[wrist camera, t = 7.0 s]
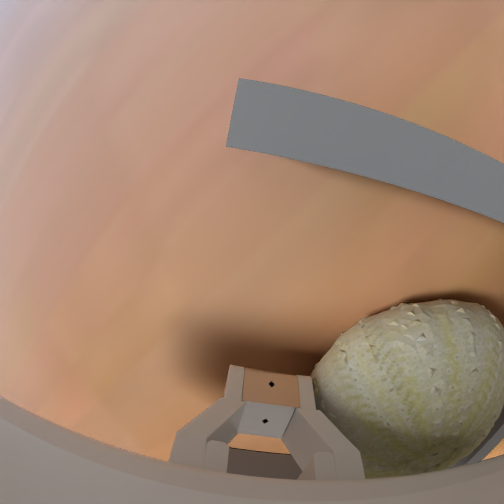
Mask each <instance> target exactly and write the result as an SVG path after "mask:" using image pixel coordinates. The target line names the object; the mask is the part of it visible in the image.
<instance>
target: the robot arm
mask: <svg viewBox="0 0 504 504" xmlns="http://www.w3.org/2000/svg"><path fill="white" fill-rule="evenodd" d="M237 433H242V434H250V435H259V436H266V437H274V438H282V441H283V443H284V444H285V446H286V447H287V449H288V450H289V452H290V453H291V455H292V456H293V458H294V459H295V461H296V462H297V464H298V465H299V467H300V468H301V470H302V471H303V472H302V473H301V474H300V476H299V477H298V478H297V480H293V479H277V478H265V477H255V476H246V475H238V474H231V473H227V464H228V455H229V446H228V445H227V444H228V443H229V442H230V441H231V440H232V439H233V438H234V437H235V436H236V435H237ZM0 504H504V454H503V455H500V456H497V457H493V458H490V459H486V460H483V461H479V462H475V463H471V464H467V465H462V466H458V467H453V468H448V469H443V470H438V471H432V472H426V473H419V474H412V475H405V476H396V477H386V478H375V479H365V474H364V469H363V464H362V459H361V454H360V451H359V450H358V449H357V448H356V447H355V446H354V445H353V444H352V443H351V442H350V441H349V440H348V439H347V438H346V437H345V436H344V435H343V434H342V433H341V432H340V431H339V430H338V429H337V428H336V426H335V425H334V424H333V423H332V422H331V421H330V420H329V419H328V418H327V417H326V416H325V415H324V414H323V413H322V412H321V411H320V410H316V405H315V398H314V391H313V384H312V378H311V377H310V376H303V375H293V374H285V373H277V372H270V371H264V370H258V369H253V368H248V367H245V368H244V367H241V366H236V365H231V364H230V367H229V371H228V376H227V381H226V385H225V390H224V395H223V398H222V397H220V398H219V399H218V400H217V401H215V402H214V403H213V404H212V405H211V406H209V407H208V408H207V409H206V410H204V411H203V412H202V413H200V414H199V415H198V416H197V417H195V418H194V419H193V420H192V421H190V422H189V423H188V424H186V425H185V426H184V427H182V428H181V429H180V430H178V431H177V433H176V437H175V440H174V444H173V448H172V452H171V455H170V459H169V462H168V461H164V460H160V459H156V458H152V457H149V456H145V455H142V454H138V453H135V452H131V451H128V450H125V449H122V448H118V447H115V446H112V445H109V444H106V443H104V442H101V441H98V440H95V439H93V438H90V437H87V436H85V435H82V434H79V433H77V432H74V431H72V430H70V429H67V428H65V427H62V426H60V425H58V424H56V423H53V422H51V421H49V420H47V419H45V418H42V417H40V416H38V415H36V414H34V413H32V412H30V411H28V410H26V409H24V408H22V407H20V406H18V405H16V404H15V403H13V402H11V401H9V400H7V399H5V398H4V397H2V396H0Z"/></svg>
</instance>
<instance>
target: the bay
mask: <svg viewBox="0 0 504 504" xmlns="http://www.w3.org/2000/svg"><path fill="white" fill-rule="evenodd" d="M226 147H232V148H238V149H243V150H249V151H254V152H260V153H265V154H270V155H275V156H280V157H285V158H290V159H294V160H299V161H303V162H308V163H312V164H316V165H321V166H325V167H329V168H333V169H337V170H341V171H345V172H349V173H353V174H357V175H361V176H364V177H368V178H372V179H375V180H379V181H382V182H386V183H389V184H393V185H396V186H399V187H403V188H406V189H409V190H412V191H416V192H419V193H422V194H425V195H428V196H431V197H434V198H437V199H440V200H443V201H446V202H449V203H452V204H455V205H458V206H460V207H463V208H466V209H469V210H471V211H474V212H477V213H479V214H482V215H485V216H487V217H490V218H492V219H495V220H497V221H500V222H502V223H504V164H503V163H501V162H499V161H497V160H495V159H493V158H491V157H489V156H487V155H485V154H483V153H481V152H479V151H477V150H475V149H473V148H471V147H469V146H466V145H464V144H462V143H460V142H458V141H455V140H453V139H451V138H449V137H446V136H444V135H442V134H439V133H437V132H434V131H432V130H429V129H427V128H424V127H422V126H419V125H417V124H414V123H411V122H409V121H406V120H403V119H400V118H398V117H395V116H392V115H389V114H386V113H383V112H380V111H377V110H374V109H371V108H367V107H364V106H361V105H357V104H354V103H351V102H347V101H344V100H340V99H336V98H333V97H329V96H325V95H321V94H317V93H313V92H308V91H304V90H300V89H295V88H291V87H286V86H281V85H276V84H270V83H265V82H259V81H254V80H247V79H241V78H239V80H238V85H237V90H236V95H235V101H234V106H233V111H232V116H231V122H230V127H229V133H228V138H227V144H226ZM503 438H504V405H503V408H502V410H501V413H500V416H499V418H498V419H497V420H496V421H495V422H494V427H492V428H491V430H490V432H489V433H488V435H487V436H486V437H485V439H484V440H483V441H482V442H481V443H480V445H479V446H478V447H476V448H475V449H474V451H473V452H471V453H470V454H469V455H468V456H466V457H464V458H462V459H460V460H459V461H458V463H456V464H455V466H452V467H450V468H453V467H458V466H462V465H467V464H471V463H475V462H479V461H482V460H483V459H484V458H485V457H486V456H487V455H488V454H489V453H490V452H491V451H492V450H493V449H494V448H495V446H496V445H497V444H498V443H499V442H500V441H501V440H502V439H503ZM302 472H303V471H302V470H301V468H300V467H299V465H298V464H297V462H296V461H295V459H294V458H293V456H292V455H286V454H275V453H265V452H256V451H248V450H241V449H234V448H229V455H228V464H227V473H231V474H238V475H246V476H255V477H265V478H277V479H293V480H297V478H298V477H299V476H300V474H301V473H302Z"/></svg>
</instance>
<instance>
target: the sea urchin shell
mask: <svg viewBox="0 0 504 504" xmlns="http://www.w3.org/2000/svg"><path fill="white" fill-rule="evenodd" d="M310 377H311V378H312V384H313V391H314V398H315V405H316V410H320V411H321V412H322V413H323V414H324V415H325V416H326V417H327V418H328V419H329V420H330V421H331V422H332V423H333V424H334V425H335V426H336V428H337V429H338V430H339V431H340V432H341V433H342V434H343V435H344V436H345V437H346V438H347V439H348V440H349V441H350V442H351V443H352V444H353V445H354V446H355V447H356V448H357V449H358V450H359V451H360V454H361V459H362V464H363V469H364V474H365V479H375V478H386V477H396V476H405V475H412V474H419V473H426V472H432V471H438V470H443V469H448V468H450V467H452V466H455V464H456V463H458V461H459V460H460V459H462V458H464V457H466V456H468V455H469V454H470V453H471V452H473V451H474V449H475V448H476V447H478V446H479V445H480V443H481V442H482V441H483V440H484V439H485V437H486V436H487V435H488V433H489V432H490V430H491V428H492V427H494V422H495V421H496V420H497V419H498V418H499V416H500V413H501V410H502V408H503V405H504V327H503V326H502V324H501V322H500V321H499V319H498V317H495V316H494V315H493V314H492V313H491V312H490V311H489V310H487V309H486V308H485V306H484V305H482V306H481V305H480V304H478V303H472V302H471V303H469V302H462V301H457V300H451V299H449V300H442V299H441V298H440V299H439V300H434V301H429V302H422V303H410V304H406V303H401V304H399V305H398V306H397V307H393V306H392V307H391V308H390V309H388V310H387V311H384V312H381V313H379V314H376V315H372V316H369V317H366V318H361V319H360V320H359V322H358V323H357V324H355V325H354V326H352V327H351V328H349V329H348V330H347V331H346V332H344V333H341V336H339V337H338V339H337V340H336V341H335V343H334V344H333V346H332V347H331V349H330V350H329V351H328V352H327V353H326V354H325V355H324V356H323V357H322V359H321V360H320V362H318V363H316V364H315V368H314V370H313V371H312V373H311V376H310Z"/></svg>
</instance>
